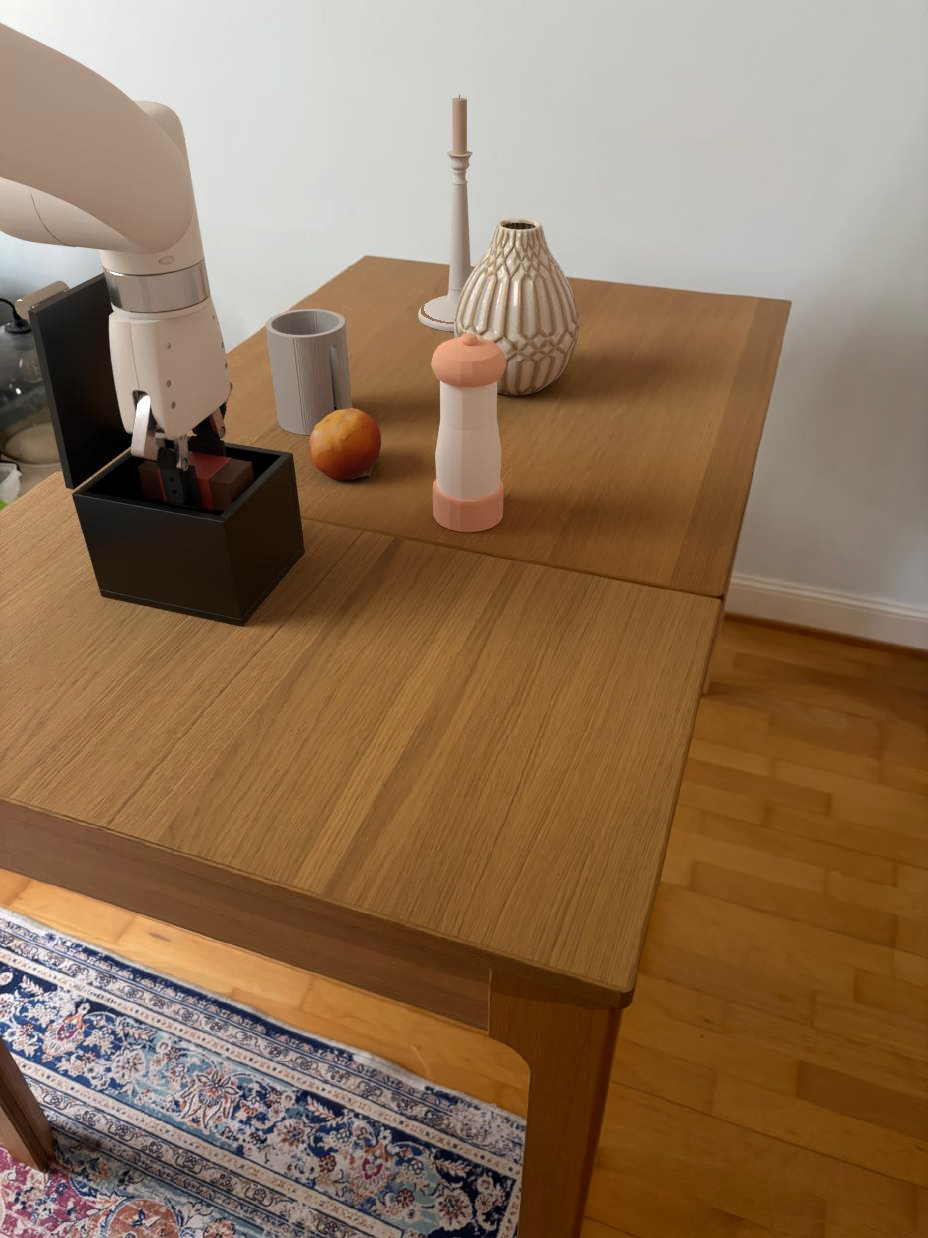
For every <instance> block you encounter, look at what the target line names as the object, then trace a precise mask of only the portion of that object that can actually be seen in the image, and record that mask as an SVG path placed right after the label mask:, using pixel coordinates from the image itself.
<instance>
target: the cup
mask: <svg viewBox="0 0 928 1238" xmlns="http://www.w3.org/2000/svg"><path fill="white" fill-rule="evenodd" d="M264 326H265V334H266V342H267V349H268V350H267V351H268V356H269V362H270V372H271V379H272V387H273V394H274V402H275V408H276V416H277V423H278V425H279V427H280V428H281V429H282V430H284V431H286V432H288V433H291V434H294V435H301V436H310V435H311V433H312V432H313V430H314V428H315V425H316V424H318V423H319V422H320V421H322V420H323V419H324V418H325V417H326V416H327V415H329V414H331V413H333V412H334V411H335V408H336V411H337V410H343V409H350V408H353V402H352V389H351V375H350V363H349V362H350V361H349V351H348V339H347V325H346V319H345V317H344V316H343V315H342V314H340V313H339V312H335V311H332V310H329V309H328V310H327V309H321V308H320V309H319V308H300V309H292V310H287V311H284V312H280V313H278V314H274V315H273V316H271V317H270V318H268V319H267V321H265V325H264Z"/></svg>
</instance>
